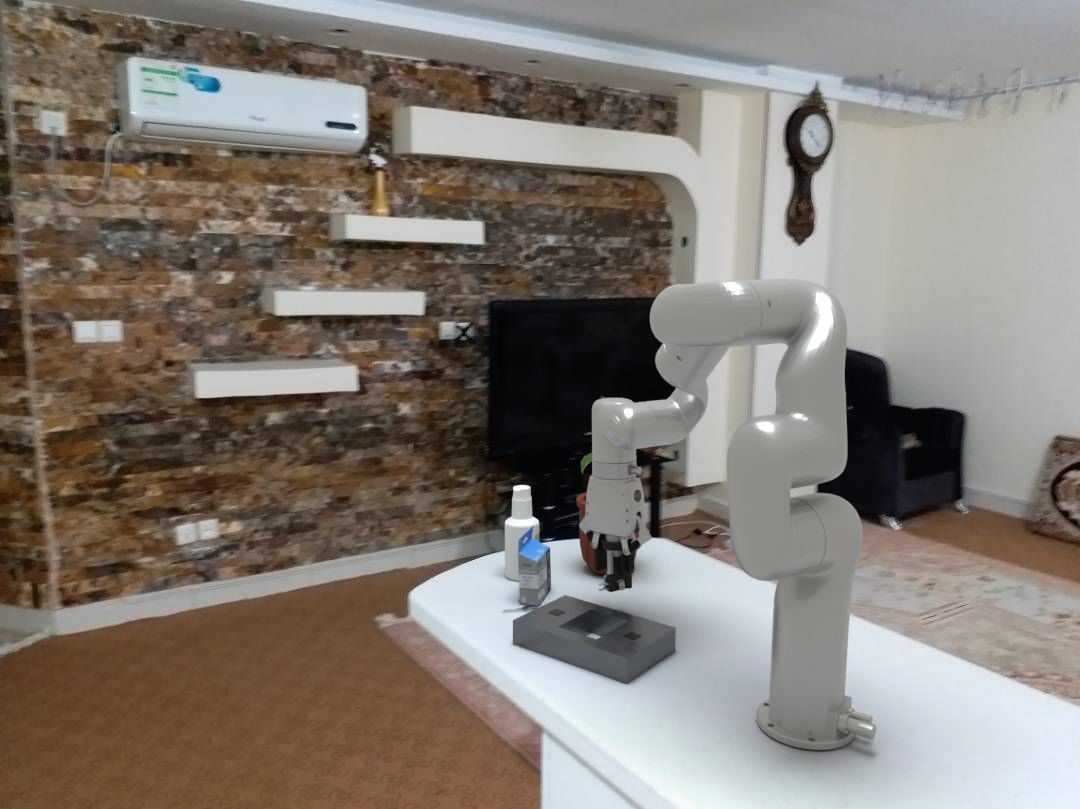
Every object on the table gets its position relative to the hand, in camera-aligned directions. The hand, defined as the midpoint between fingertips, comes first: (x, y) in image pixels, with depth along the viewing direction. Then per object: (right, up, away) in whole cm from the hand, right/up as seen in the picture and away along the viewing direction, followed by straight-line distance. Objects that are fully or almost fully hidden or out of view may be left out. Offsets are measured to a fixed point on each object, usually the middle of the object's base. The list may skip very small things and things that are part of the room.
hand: (614, 571), depth 153 cm
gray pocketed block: (-4, -10, -13) cm, 17 cm away
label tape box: (-14, -7, +9) cm, 18 cm away
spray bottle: (-17, -5, +20) cm, 26 cm away
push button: (0, -3, 0) cm, 4 cm away
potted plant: (+3, -5, +22) cm, 23 cm away
